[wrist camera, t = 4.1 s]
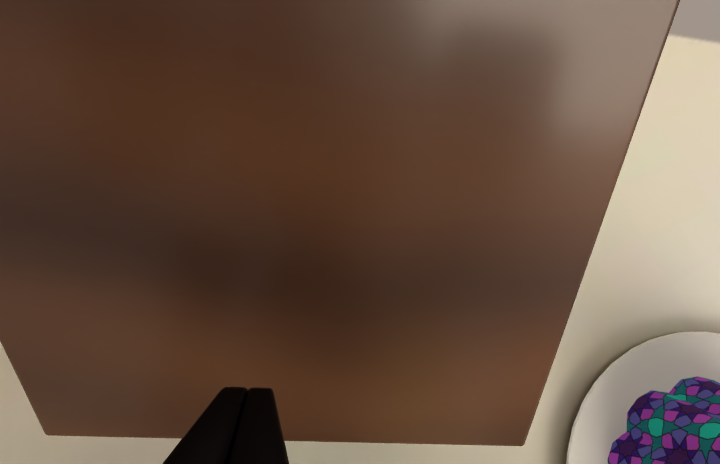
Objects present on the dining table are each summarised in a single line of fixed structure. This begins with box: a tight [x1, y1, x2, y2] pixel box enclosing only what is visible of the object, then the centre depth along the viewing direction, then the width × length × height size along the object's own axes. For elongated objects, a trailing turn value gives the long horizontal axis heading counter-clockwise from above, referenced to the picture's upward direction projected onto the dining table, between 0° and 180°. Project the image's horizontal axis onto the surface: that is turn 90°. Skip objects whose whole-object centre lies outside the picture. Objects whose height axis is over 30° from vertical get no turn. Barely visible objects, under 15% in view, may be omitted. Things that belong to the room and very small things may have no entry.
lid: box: [0, 0, 680, 446], centre depth 12 cm, size 13×14×1 cm
